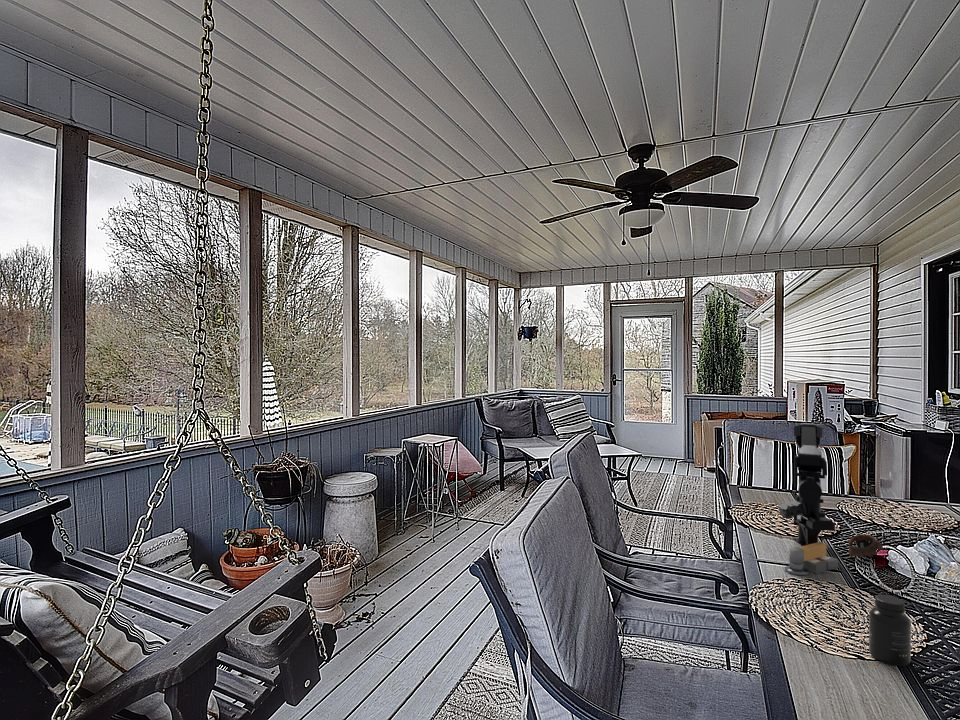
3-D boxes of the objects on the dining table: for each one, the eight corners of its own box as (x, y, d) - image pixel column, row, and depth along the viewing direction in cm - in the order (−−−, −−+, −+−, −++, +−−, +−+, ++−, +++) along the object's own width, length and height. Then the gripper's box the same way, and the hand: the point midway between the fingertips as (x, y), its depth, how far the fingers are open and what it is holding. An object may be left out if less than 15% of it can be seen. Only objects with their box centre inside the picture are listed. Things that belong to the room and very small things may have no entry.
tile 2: (803, 562, 164) (804, 553, 164) (813, 559, 166) (813, 551, 166) (827, 570, 157) (827, 561, 157) (837, 567, 160) (837, 558, 160)
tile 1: (792, 565, 161) (792, 556, 161) (802, 562, 163) (802, 554, 163) (816, 573, 155) (816, 564, 155) (826, 570, 157) (826, 561, 157)
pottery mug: (897, 566, 161) (886, 543, 160) (864, 577, 163) (853, 554, 162) (874, 544, 172) (864, 522, 171) (844, 555, 175) (834, 533, 174)
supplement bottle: (860, 649, 114) (860, 592, 114) (890, 648, 115) (891, 591, 115) (887, 668, 107) (888, 607, 107) (919, 666, 108) (920, 606, 108)
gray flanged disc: (781, 567, 160) (781, 558, 160) (802, 568, 159) (802, 559, 159) (790, 575, 154) (790, 565, 154) (812, 576, 153) (812, 566, 153)
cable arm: (798, 564, 154) (798, 552, 154) (786, 560, 157) (786, 548, 157) (829, 556, 161) (829, 544, 161) (817, 552, 164) (817, 540, 164)
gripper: (769, 486, 176) (769, 534, 176) (795, 500, 157) (794, 554, 157) (806, 487, 174) (805, 536, 174) (836, 502, 156) (836, 556, 156)
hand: (809, 545), depth 165 cm, fingers closed
